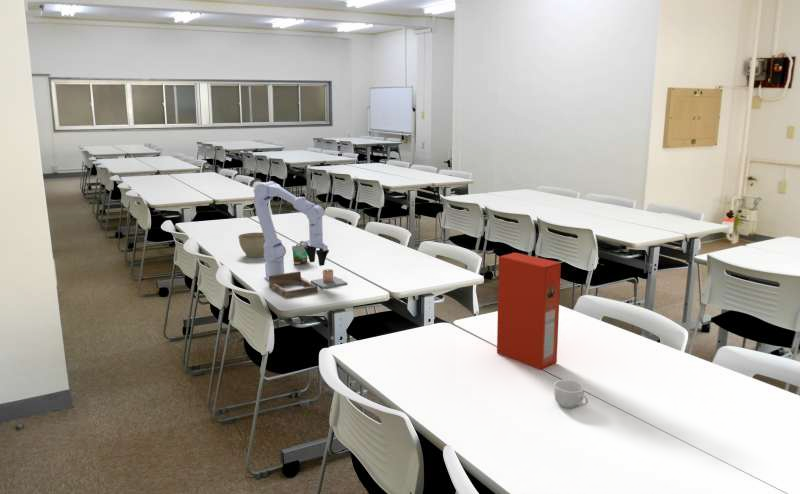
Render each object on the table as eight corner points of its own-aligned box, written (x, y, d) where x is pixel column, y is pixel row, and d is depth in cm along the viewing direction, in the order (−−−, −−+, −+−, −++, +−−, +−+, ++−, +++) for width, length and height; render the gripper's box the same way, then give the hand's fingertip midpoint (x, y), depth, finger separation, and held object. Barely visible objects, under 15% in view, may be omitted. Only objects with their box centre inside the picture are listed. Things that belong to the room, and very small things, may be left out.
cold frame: (269, 287, 279) (268, 276, 277) (300, 281, 286) (299, 271, 285) (285, 297, 263) (285, 286, 262) (317, 292, 271) (317, 280, 270)
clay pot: (320, 281, 283) (320, 270, 282) (329, 279, 286) (329, 268, 285) (327, 283, 280) (327, 272, 279) (335, 281, 283) (335, 270, 282)
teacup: (546, 403, 171) (547, 384, 170) (566, 395, 176) (567, 377, 174) (577, 417, 163) (578, 398, 162) (596, 409, 168) (597, 390, 166)
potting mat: (310, 282, 285) (310, 280, 285) (335, 278, 292) (334, 276, 291) (322, 288, 276) (322, 286, 275) (347, 284, 282) (347, 282, 282)
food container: (304, 266, 312) (303, 246, 310) (292, 266, 313) (291, 246, 311) (313, 260, 324) (312, 241, 321) (301, 260, 325) (300, 240, 322)
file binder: (540, 370, 191) (544, 267, 184) (496, 353, 204) (498, 256, 197) (556, 363, 196) (561, 262, 189) (512, 347, 209) (515, 252, 202)
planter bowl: (276, 256, 333) (275, 235, 330) (246, 261, 324) (245, 239, 322) (264, 250, 346) (262, 230, 343) (235, 254, 337) (233, 234, 334)
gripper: (299, 232, 281) (300, 262, 284) (317, 237, 271) (318, 268, 274) (312, 229, 286) (313, 259, 289) (331, 235, 275) (332, 265, 278)
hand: (316, 263), depth 282 cm, fingers open, 7 cm apart
